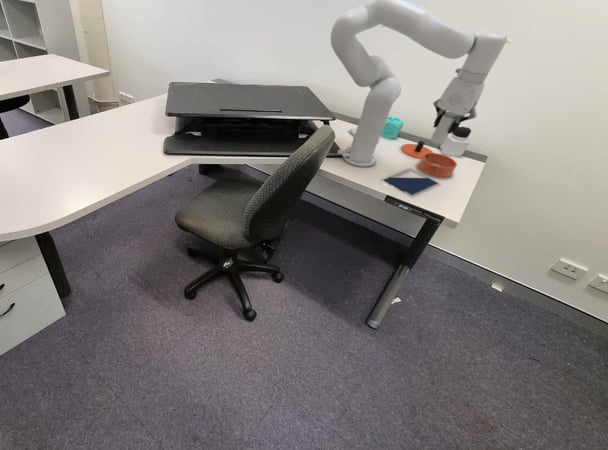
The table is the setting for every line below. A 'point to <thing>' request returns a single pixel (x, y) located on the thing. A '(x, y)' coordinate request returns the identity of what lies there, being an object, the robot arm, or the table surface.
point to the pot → (436, 170)
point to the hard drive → (353, 131)
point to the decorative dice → (392, 127)
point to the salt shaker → (443, 128)
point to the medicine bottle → (456, 142)
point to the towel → (411, 184)
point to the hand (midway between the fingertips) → (443, 129)
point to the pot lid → (415, 150)
